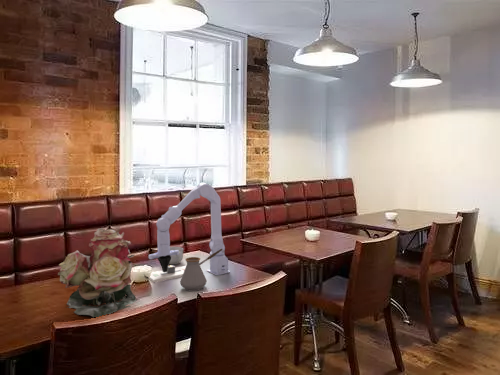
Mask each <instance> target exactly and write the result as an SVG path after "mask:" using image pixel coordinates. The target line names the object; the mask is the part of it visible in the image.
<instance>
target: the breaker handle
mask: <svg viewBox="0 0 500 375" xmlns="http://www.w3.org/2000/svg"><path fill="white" fill-rule="evenodd" d="M175 268H176V266H175V265H174V264H168V268H167V272H168V273H173V272H175Z"/></svg>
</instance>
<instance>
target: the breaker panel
mask: <svg viewBox="0 0 500 375" xmlns="http://www.w3.org/2000/svg"><path fill="white" fill-rule="evenodd" d="M185 268H186V265H183V266H177V267H176V266H175V272H173V273H168V272H163V271H162V269H161V270H156V271H152V273H151V276H150V280H149V281H151V282H152V283H159V282H163V281H168V280H172V279H179V278H182V276H183V273H184V270H185Z"/></svg>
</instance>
